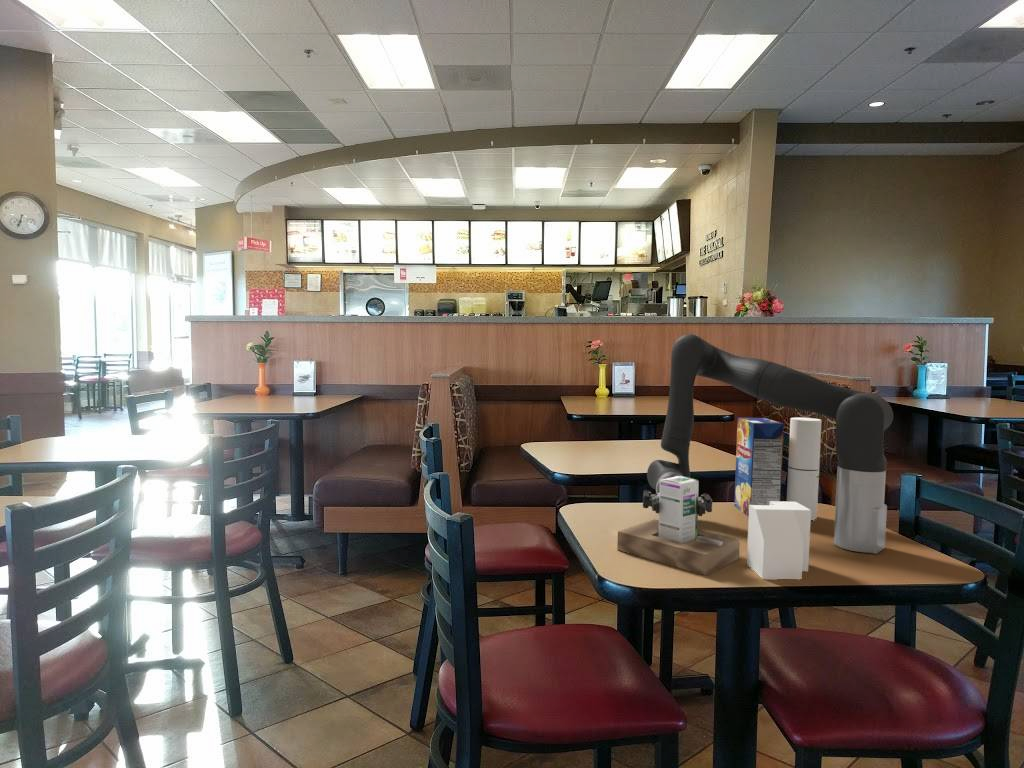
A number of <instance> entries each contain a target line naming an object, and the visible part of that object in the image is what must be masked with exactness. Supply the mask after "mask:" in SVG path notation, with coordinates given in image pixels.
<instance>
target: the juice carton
mask: <svg viewBox="0 0 1024 768" xmlns="http://www.w3.org/2000/svg"><path fill="white" fill-rule="evenodd" d="M784 424H785V423H784V422H780V421H777V420H773V419H770V418H766V417H737V427H736V451H735V452H736V456H735V477H734V478H735V480H734V501H733V502H734V503H739V504H734V503H733V505H734V507H735V508H736V509H737V510H739V511H740V512H741V513H743V514H744V515H745V516H747V517H748V518H749V505H769V501H781V497H782V496H781V495H782V493H781V492H782V472H783V471H782V469H783V451H784V450H783V449H784V448H783V447H784V446H783V445H784Z"/></svg>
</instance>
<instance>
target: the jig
mask: <svg viewBox="0 0 1024 768" xmlns="http://www.w3.org/2000/svg"><path fill="white" fill-rule="evenodd" d="M658 536H659V519H651V520H649V521H645V522H643V523H639V524H636V525H633V526H630V527H628V528H624V529H621V530H618V531H617V543H616V544H617V548H616V549H617V551H618V550H620V551H619V552H622V551H623V552H622V553H625V552H627V553H626V554H629V553H631V554H630V555H632V554H634V555H633V556H636V555H638V556H637V557H639V556H640V558H643V557H644V558H643V559H646V558H647V560H650V561H653V560H654V561H653V562H656V563H657V562H658V563H661V564H664V565H667V564H668V566H670V565H671V567H674V566H675V567H674V568H677V567H678V569H681V570H684V569H685V571H688V572H691V571H692V573H695V572H696V573H695V574H698V573H700V574H699V575H702V574H703V575H702V576H706V574H707V575H709V574H711V573H713V572H715V571H717V570H719V569H720V568H723V567H725V566H728V565H729V564H731V563H733V562H735V561H738V560H739V559H740V548H741V547H740V544H741V543H740V542H741V541H740V540H741V539H739V538H736V537H731V536H727V535H723V534H720V533H719V534H718V533H716V532H715V533H714V532H710V531H705V530H702V529H697V537H696V540H694V541H691V542H689V543H686V544H684V543H680V542H676V541H672V540H668V539H664V538H661V537H658ZM716 569H717V570H716ZM714 570H715V571H714ZM712 571H713V572H712ZM710 572H711V573H710ZM708 573H709V574H708Z"/></svg>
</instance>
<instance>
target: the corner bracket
mask: <svg viewBox="0 0 1024 768" xmlns="http://www.w3.org/2000/svg"><path fill="white" fill-rule="evenodd" d="M811 523H812V521H811V510H810V509H808V508H806V507H805V506H803V505H801V504H799V503H797V502H787V500H785V501H784V500H783V501H781V500H780V501H769V505H749V517H748V523H747V545H746V547H747V549H746V565H747V567H748V568H750V567H751V568H750V569H751V570H752V571H753V570H754V571H755V572H756V573H757V574H758V575H759V576H760V577H761V578H762V580H777V579H798V580H797V581H800V580H799V579H803V572H809V563H810V562H809V561H810V539H811V538H810V537H811ZM754 571H753V572H754ZM755 572H754V573H755ZM756 573H755V574H756ZM757 574H756V575H757ZM758 575H757V576H758ZM759 576H758V577H759ZM760 577H759V578H760Z"/></svg>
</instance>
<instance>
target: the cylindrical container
mask: <svg viewBox="0 0 1024 768" xmlns="http://www.w3.org/2000/svg"><path fill="white" fill-rule="evenodd" d="M789 419H790V422H789V441H788V443H789V444H788V461H787V462H788V463H787V465H788V467H787V486H786V487H787V488H786V489H787V490H786V501H787V502H797V503H799V504H801V505H803V506H805V507H806V508H808V509H810V510H811V520H813V521H816V520H817V519H816V518H818V504H819V503H818V501H819V500H818V499H819V498H818V497H819V482H820V481H819V479H820V477H819V476H820V461H821V438H822V437H821V436H822V419H819V418H813V417H812V418H811V417H791V418H789ZM815 519H816V520H815Z"/></svg>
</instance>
